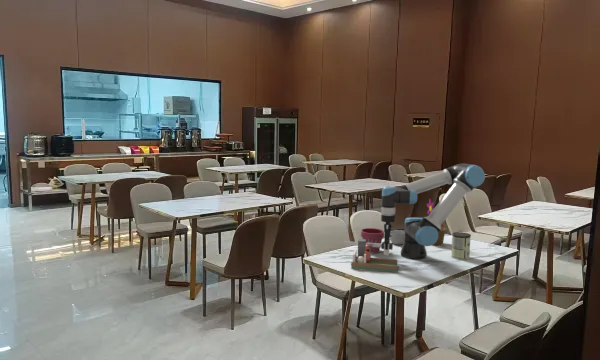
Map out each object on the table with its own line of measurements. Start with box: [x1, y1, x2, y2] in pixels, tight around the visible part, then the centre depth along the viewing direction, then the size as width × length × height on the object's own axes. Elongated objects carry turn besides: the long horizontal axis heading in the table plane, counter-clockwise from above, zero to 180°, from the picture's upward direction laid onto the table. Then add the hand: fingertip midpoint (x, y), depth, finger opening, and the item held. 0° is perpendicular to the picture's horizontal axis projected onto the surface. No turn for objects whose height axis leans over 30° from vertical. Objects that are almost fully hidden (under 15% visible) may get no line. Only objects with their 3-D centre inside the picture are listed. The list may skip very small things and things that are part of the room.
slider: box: [342, 240, 394, 263], centre depth 249 cm, size 28×13×10 cm, turn 76°
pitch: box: [350, 238, 398, 273], centre depth 246 cm, size 24×17×12 cm
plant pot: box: [360, 227, 385, 254], centre depth 277 cm, size 14×14×13 cm
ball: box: [357, 256, 364, 263], centre depth 246 cm, size 4×4×4 cm
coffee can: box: [450, 231, 472, 261], centre depth 264 cm, size 10×10×14 cm
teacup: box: [390, 229, 404, 245], centre depth 297 cm, size 14×11×8 cm
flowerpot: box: [426, 198, 448, 247], centre depth 295 cm, size 14×14×30 cm
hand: (386, 251), depth 251 cm, fingers open, 13 cm apart
